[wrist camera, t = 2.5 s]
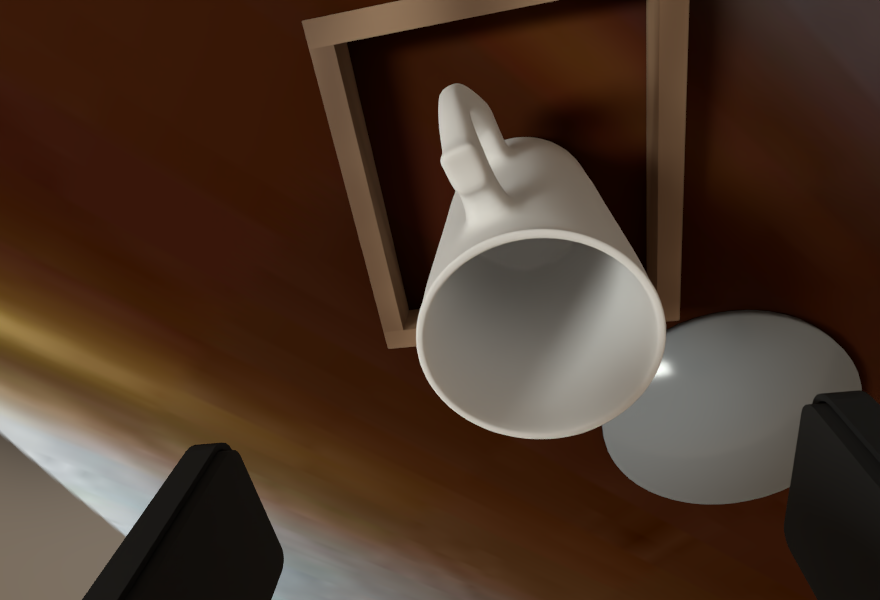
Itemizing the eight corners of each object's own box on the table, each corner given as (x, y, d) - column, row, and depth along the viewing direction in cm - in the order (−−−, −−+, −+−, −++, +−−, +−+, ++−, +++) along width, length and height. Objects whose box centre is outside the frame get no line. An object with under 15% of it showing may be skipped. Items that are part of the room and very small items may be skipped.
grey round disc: (877, 296, 26) (885, 302, 25) (834, 490, 32) (840, 498, 31) (596, 324, 28) (598, 330, 27) (605, 501, 34) (606, 509, 33)
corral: (674, -55, 20) (691, -60, 18) (667, 299, 27) (679, 320, 25) (316, 19, 22) (301, 20, 21) (394, 328, 29) (388, 348, 28)
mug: (615, 240, 26) (694, 403, 15) (484, 288, 28) (474, 463, 17) (539, 24, 22) (577, 45, 11) (392, 98, 24) (307, 175, 13)
